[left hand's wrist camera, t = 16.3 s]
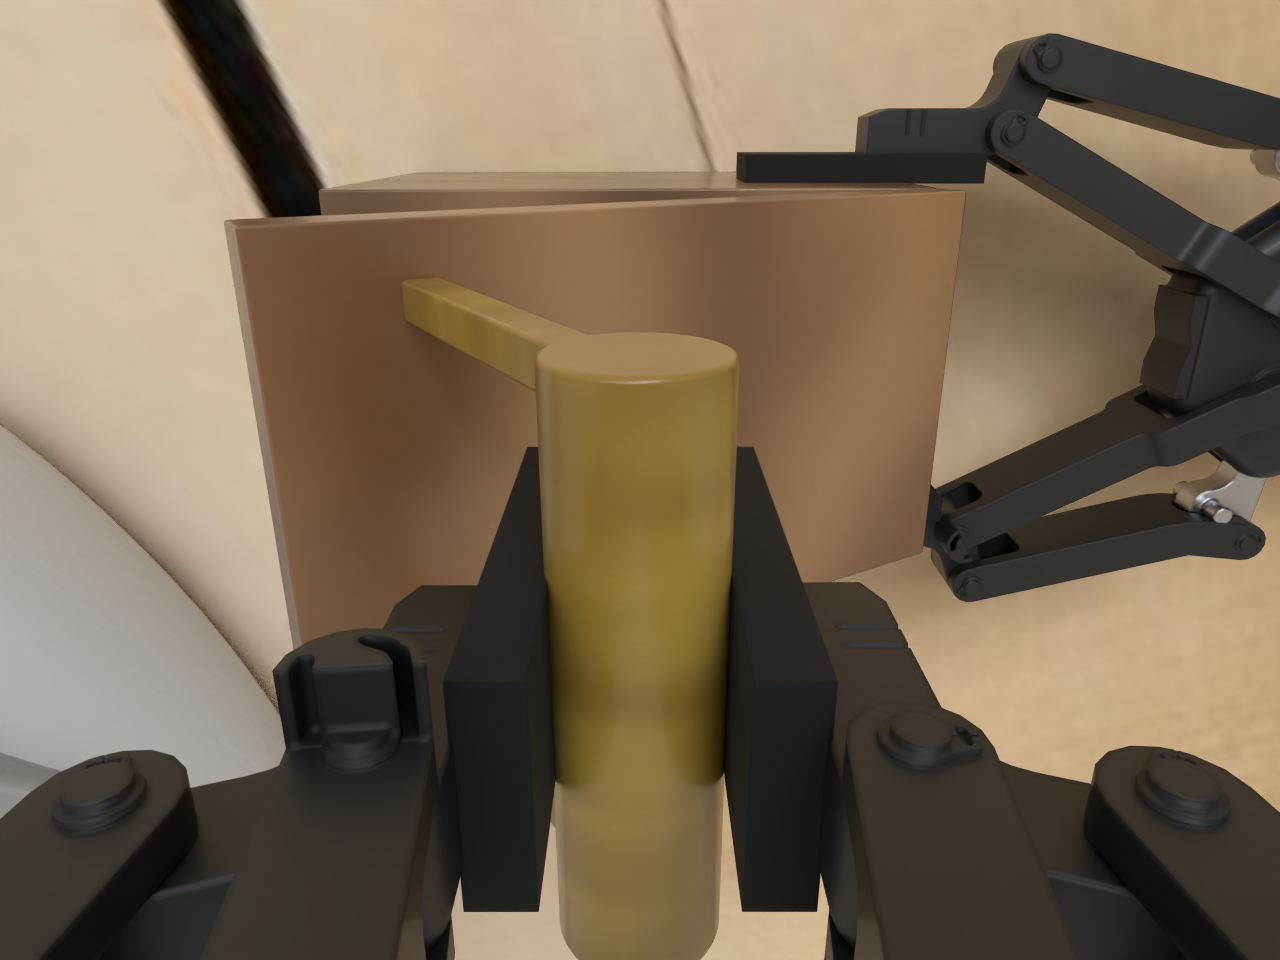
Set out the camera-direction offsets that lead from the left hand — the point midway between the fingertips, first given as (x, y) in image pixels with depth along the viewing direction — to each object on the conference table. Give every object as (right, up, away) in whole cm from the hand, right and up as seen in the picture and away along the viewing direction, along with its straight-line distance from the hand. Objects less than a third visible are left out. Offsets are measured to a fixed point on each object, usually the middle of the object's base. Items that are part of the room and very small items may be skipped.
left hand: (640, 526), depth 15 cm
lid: (0, +2, +5) cm, 6 cm away
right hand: (+3, +5, +13) cm, 14 cm away
